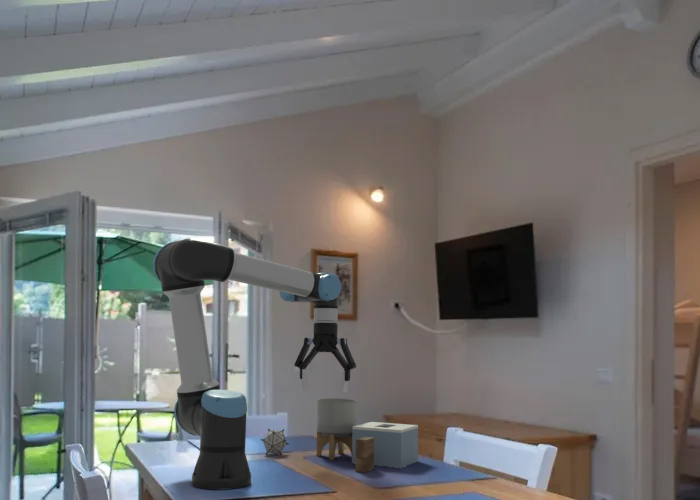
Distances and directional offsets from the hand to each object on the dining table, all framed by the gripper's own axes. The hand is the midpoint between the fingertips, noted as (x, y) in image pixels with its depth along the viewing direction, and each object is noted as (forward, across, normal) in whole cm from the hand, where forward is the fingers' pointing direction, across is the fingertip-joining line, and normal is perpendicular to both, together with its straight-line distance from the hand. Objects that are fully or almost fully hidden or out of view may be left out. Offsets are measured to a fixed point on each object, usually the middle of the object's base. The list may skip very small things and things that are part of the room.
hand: (324, 391), depth 219 cm
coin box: (+21, -17, -8) cm, 29 cm away
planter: (+22, +1, -11) cm, 24 cm away
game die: (+22, +20, -5) cm, 30 cm away
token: (+21, -17, +7) cm, 28 cm away
